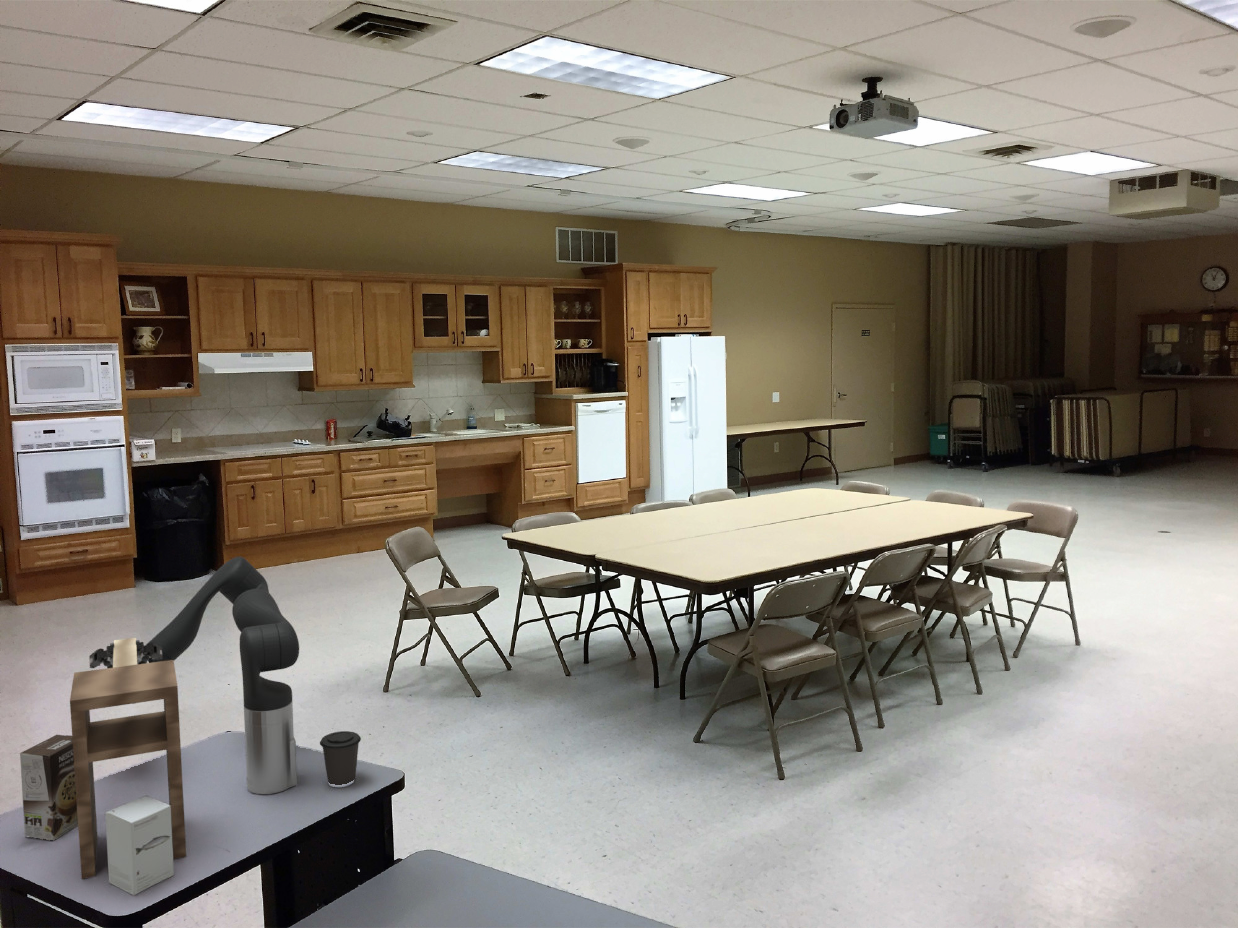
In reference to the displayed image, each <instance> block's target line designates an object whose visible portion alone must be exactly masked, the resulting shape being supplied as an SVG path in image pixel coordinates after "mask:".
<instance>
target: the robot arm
mask: <svg viewBox="0 0 1238 928" xmlns="http://www.w3.org/2000/svg"><path fill="white" fill-rule="evenodd" d="M218 593H220V594H221V595H222V596H223V597H225V599H226V600H228V601H229V602H230V603H231V604H232V610H231V611H232V612H231V613H232V618H233V620H234V623H235V625H236V628H237V630H238V631H240V635H239V656H240V664H241V674H242V692H243V695H242V696H243V716H244V717H243V721H244V740H245V742H244V744H245V745H244V746H245V764H246V765H245V766H246V767H245V768H246V785H247V787H246V788H247V790H248V791H249V792H250V793H253V794H258V795H270V794H271V795H272V794H277V793H280V792H283V791H286V790H288V789H290V788H291V787H295V785H296V786H298V771H297V770H298V769H297V767H298V766H297V744H296V739H295V735H294V734H295V732H294V711H293V710H294V708H293V706H294V705H293V690H292V687H291V685H288V684H287V683H285V682H281V681H277V680H271V679H268V678H265V677H263V676H262V675H260V673H266V672H272V671H278V670H285V669H288V668H291V667H292V666H294V665H295V664H296V662H297V661H298V659H299V655H300V643H299V637H298V635H297V632H296V631H295V628H294V626H293V625H292V624H291V623H290V621H288V620H287V619H286V617H284V615H283V614H282V612H281V610H280V609H279V605H278V604H277V602H276V600H275V599H274V597H273V596H272V594H270V591H269V584H268V581H267V580H266V578H265V577H264V575H262V574H261V573H260V571H258V570H257V569H256V567H254V566H253V565H252V564H251V562H249V561H248V560H247V559H246V558H245V557H243V556H236V557H233V558H231V559H229V560H228V561H226V562H225V563H224V564H222V566H220V567H219V568H218V569H217V570H216V571H215V572H214V573H213V575H212V576H210V578H209V579H208V580H207V581H206V582H205V583H204V584H203V585H202V586H201V588H200V589H199V590H198V591H197V592H196V593H195V594H194V596H193V597H192V598H191V599H190V601H188V603H187V604H186V605H185V606H184V607H183V608H182V609H181V611H179V613H178V614H177V615H176V616H175V617H174V618H173V619H172V620H171V622H169V623H168V624H167V625H166V626H165V627H164V628H163V629H162V630H161V631H159V632H158V633H157V634H156V635H154V637H153V638H152V639H150V640H149V641H148V642H147V643H146V644H145V643H144V642H143V641H141V640H139V639H138V640H137V639H136V647H137V665H138V664H145V663H153V662H161V661H169V660H174V661H176V660H177V659H178V658H179V657H180V656H182V654H184V652H186V651H187V650H188V649H189V648H190V646H191V645H192V644H193V643H194V642H195V640H196V638H197V635H198V632H199V631H200V626H201V623H202V620H203V617H204V614H205V611H206V609H207V607H208V605H209V603H210V602H211V601H212V599H213V598H214V597H215V596H216V595H217V594H218ZM105 648H106V650H105V649H104V648H97V649H96V650H95V651H93V652H92V653H90V655H89V656H88V658H89V661H88V663H89V668H90V669H95V668H97V667H100V666H101V665H103V666H104V667H106V669H107V668H113V652H114V642H112V643H111V642H110V644H109V645H107V646H106V647H105ZM135 704H136V703H134V704H133V705H135Z"/></svg>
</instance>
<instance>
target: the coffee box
mask: <svg viewBox="0 0 1238 928" xmlns="http://www.w3.org/2000/svg"><path fill="white" fill-rule="evenodd" d="M19 758H20V775H21V777H20V778H21V790H22V793H21V794H22V807H23V810H22V811H23V821H24V822H23V824H24V825H23V826H24V837H25V836H29V837H35V838H34V839H36V838H40V839H39V840H43V839H46V840H45V841H50V840H53V841H56V840H57V839H59V838H60V837H61V836H63V835H65V834H66V833H68V832H70V831H71V830H72V829H74V828H76V827H78V816H77V801H76V786H75V771H74V756H73V741H72V735H62V734H55V735H53V736H52V737H49V738H47V739H45V740H44V741H42V742H39V743H38V744H35V745H34V746H31V747H30V748H27V749H26V750H24V751H22V752H19ZM55 839H56V840H55Z"/></svg>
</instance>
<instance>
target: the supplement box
mask: <svg viewBox="0 0 1238 928" xmlns="http://www.w3.org/2000/svg"><path fill="white" fill-rule="evenodd" d="M104 815H105V833H106V851H107V866H108V867H107V868H108V870H107V871H108V883H110V884H111V885H113V886H115V887H117V888H118V889H121V890H122V891H124V892H127V894H130V895H132V896H136V895H137V894H139V893H140V892H143V891H145V890H146V889H148V888H151V887H152V886H155V885H156V884H158V883H160V882H162V881H164V880H166V879H168V878H171V877H173V876H174V875H175V874H174V873H175V872H174V871H175V870H174V857H173V846H172V825H171V806H170V805H169V803H165V802H163V801H160V800H158V799H156V798H153V797H150V796H148V795H143V796H140V797H138V798H137V799H134V800H132V801H129V802H127V803H124V804H123V805H120V806H118V807H115V808H112V809H110V810H107V811H105V813H104Z"/></svg>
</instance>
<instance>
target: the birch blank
mask: <svg viewBox="0 0 1238 928" xmlns="http://www.w3.org/2000/svg"><path fill="white" fill-rule="evenodd" d="M136 640H137V637H132V638H131V637H129V638H124V639H114V640H113V643H114V652H113V668H114V667H122V666H130V665H137V647H136Z"/></svg>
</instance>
